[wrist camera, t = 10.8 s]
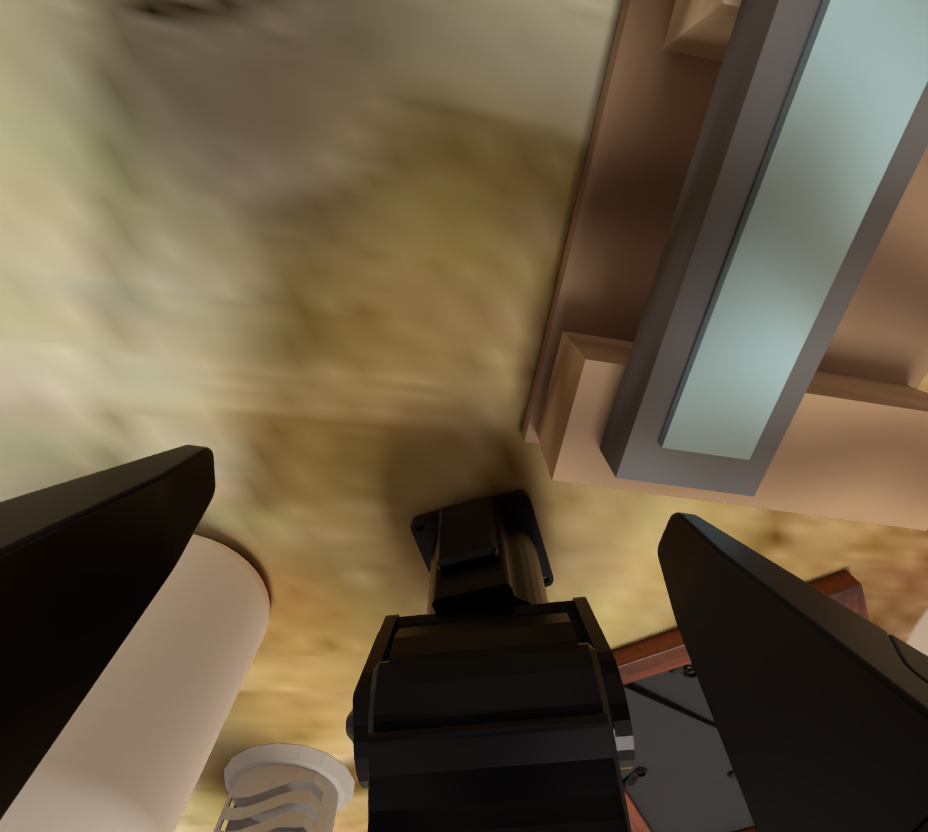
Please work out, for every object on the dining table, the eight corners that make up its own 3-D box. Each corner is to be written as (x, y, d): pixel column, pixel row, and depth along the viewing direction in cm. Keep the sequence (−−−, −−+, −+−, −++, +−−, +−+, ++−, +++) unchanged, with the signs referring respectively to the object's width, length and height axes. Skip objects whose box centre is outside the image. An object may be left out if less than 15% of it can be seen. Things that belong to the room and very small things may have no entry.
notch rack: (842, 478, 24) (930, 541, 20) (521, 432, 23) (536, 489, 18) (1146, -51, 16) (1429, -157, 11) (662, -166, 14) (754, -338, 10)
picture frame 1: (724, 467, 18) (759, 501, 16) (599, 449, 18) (618, 482, 16) (972, -85, 12) (1085, -148, 9) (782, -129, 11) (856, -206, 9)
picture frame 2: (527, 671, 31) (645, 846, 40) (531, 700, 29) (654, 876, 38) (838, 562, 27) (890, 782, 37) (865, 588, 26) (912, 813, 35)
